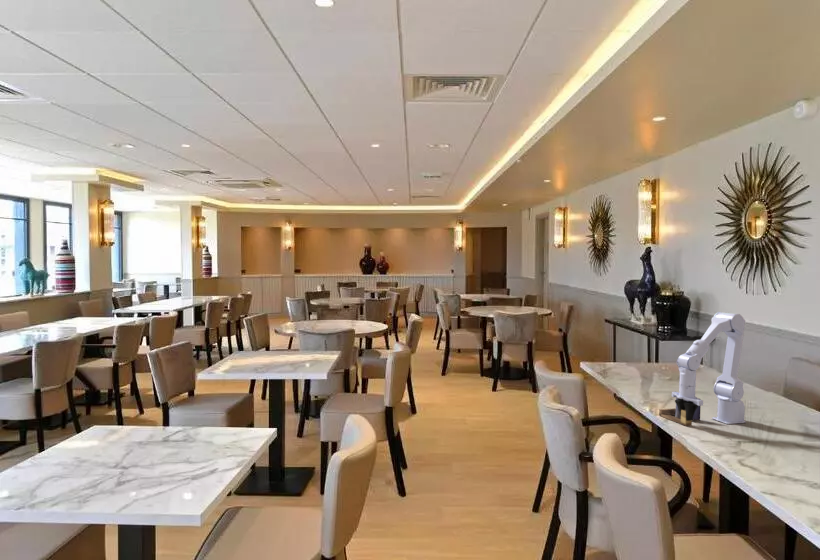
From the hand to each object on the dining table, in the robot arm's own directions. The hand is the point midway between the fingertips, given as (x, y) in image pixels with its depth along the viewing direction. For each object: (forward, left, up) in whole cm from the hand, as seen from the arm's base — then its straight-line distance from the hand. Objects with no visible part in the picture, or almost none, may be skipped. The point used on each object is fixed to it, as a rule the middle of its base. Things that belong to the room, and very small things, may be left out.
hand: (686, 419), depth 220 cm
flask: (-7, -7, -3) cm, 10 cm away
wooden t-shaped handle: (-5, -6, -2) cm, 8 cm away
